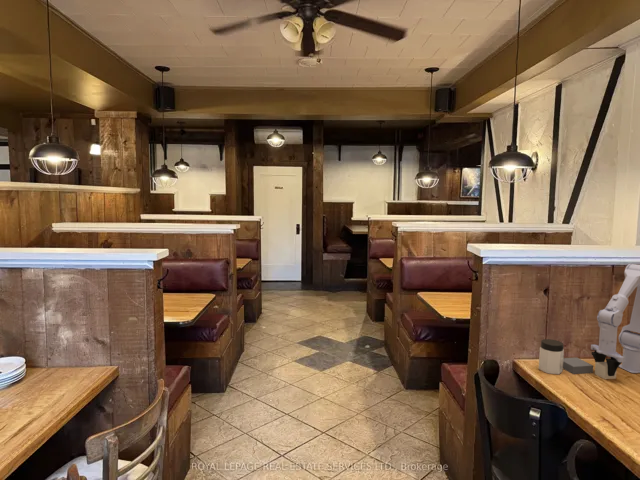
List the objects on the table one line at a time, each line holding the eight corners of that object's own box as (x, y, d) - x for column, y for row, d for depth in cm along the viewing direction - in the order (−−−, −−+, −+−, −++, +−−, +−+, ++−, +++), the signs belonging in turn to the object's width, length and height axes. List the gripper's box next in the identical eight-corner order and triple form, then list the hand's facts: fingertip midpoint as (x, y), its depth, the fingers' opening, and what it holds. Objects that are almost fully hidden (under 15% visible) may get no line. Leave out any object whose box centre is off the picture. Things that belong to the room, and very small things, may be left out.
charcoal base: (576, 365, 180) (576, 357, 179) (592, 373, 171) (593, 365, 170) (557, 366, 178) (557, 358, 178) (572, 375, 170) (573, 366, 169)
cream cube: (605, 373, 170) (606, 361, 170) (615, 378, 165) (616, 366, 165) (594, 374, 170) (595, 362, 169) (604, 379, 165) (605, 366, 164)
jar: (557, 376, 167) (559, 347, 166) (536, 370, 173) (537, 342, 172) (564, 370, 173) (566, 342, 172) (543, 364, 179) (545, 337, 178)
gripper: (584, 334, 173) (582, 366, 174) (613, 346, 158) (611, 381, 160) (600, 333, 174) (598, 365, 175) (630, 345, 159) (627, 380, 161)
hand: (605, 372), depth 167 cm, fingers closed on cream cube, 5 cm apart
